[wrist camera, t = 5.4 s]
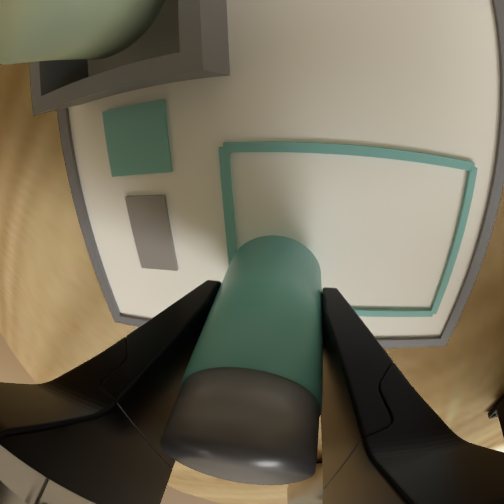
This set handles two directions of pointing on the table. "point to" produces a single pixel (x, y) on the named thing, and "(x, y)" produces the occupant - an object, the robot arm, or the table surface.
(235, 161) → the activity board
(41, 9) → the key
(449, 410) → the table surface
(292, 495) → the plastic bottle
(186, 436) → the teal cylinder
